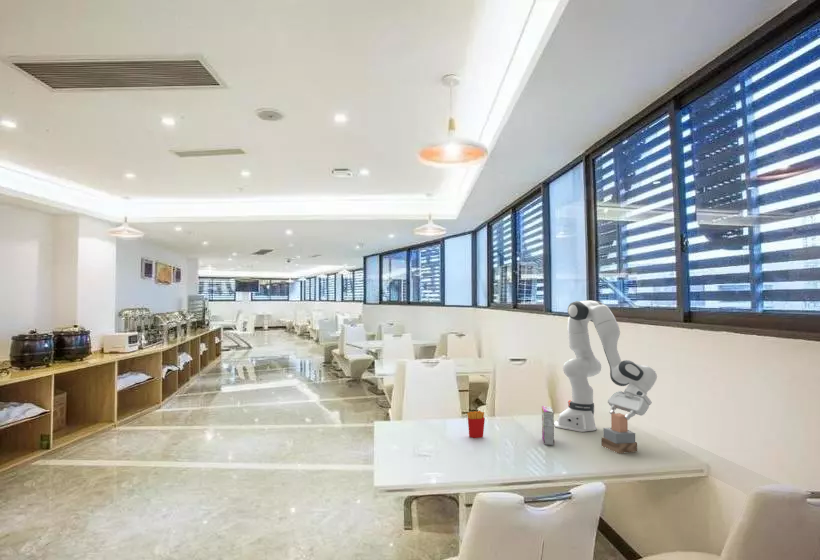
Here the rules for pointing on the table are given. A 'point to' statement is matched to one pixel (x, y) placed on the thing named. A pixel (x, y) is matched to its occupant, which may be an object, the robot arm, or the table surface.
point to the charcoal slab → (619, 436)
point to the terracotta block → (619, 422)
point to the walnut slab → (619, 446)
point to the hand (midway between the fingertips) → (618, 416)
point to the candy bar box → (547, 425)
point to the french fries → (476, 424)
